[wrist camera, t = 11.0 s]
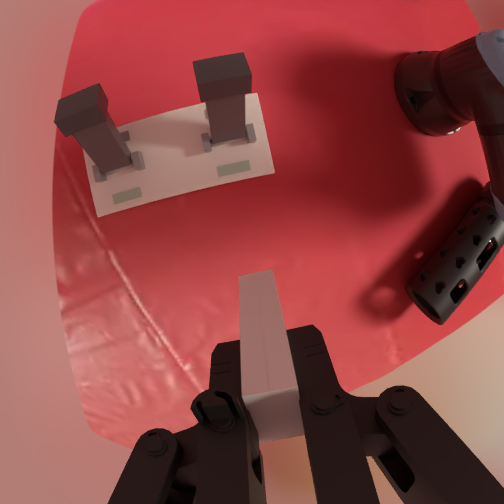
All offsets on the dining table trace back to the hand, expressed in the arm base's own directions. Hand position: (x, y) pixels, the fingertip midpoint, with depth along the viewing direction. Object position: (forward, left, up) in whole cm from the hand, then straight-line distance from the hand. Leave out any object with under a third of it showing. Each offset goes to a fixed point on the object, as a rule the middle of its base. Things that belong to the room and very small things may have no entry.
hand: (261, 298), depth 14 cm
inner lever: (+4, -9, -23) cm, 25 cm away
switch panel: (+9, -6, -29) cm, 31 cm away
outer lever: (+15, -3, -22) cm, 27 cm away
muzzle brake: (-39, -9, -29) cm, 50 cm away
